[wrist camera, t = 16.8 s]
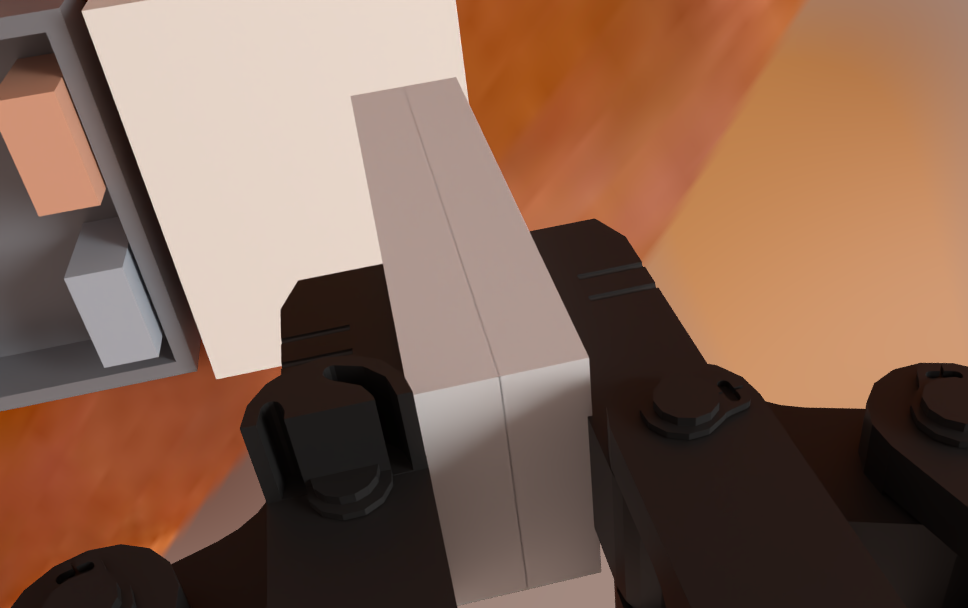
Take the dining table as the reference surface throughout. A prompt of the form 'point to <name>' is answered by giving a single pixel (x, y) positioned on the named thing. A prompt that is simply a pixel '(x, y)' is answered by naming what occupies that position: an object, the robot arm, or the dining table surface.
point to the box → (75, 234)
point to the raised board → (261, 140)
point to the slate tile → (113, 295)
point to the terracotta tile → (48, 138)
